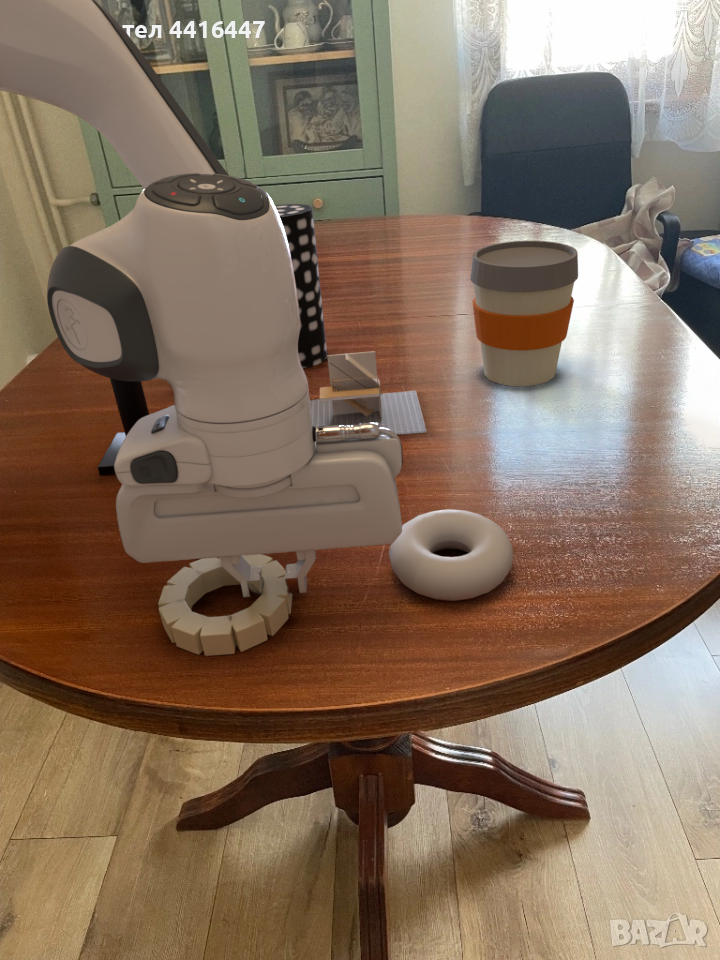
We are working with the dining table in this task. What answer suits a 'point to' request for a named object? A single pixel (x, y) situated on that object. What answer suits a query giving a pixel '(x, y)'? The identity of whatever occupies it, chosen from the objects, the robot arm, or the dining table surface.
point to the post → (124, 418)
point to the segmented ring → (223, 630)
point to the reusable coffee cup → (523, 308)
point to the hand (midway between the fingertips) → (275, 590)
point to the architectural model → (364, 398)
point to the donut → (451, 574)
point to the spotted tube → (305, 281)
